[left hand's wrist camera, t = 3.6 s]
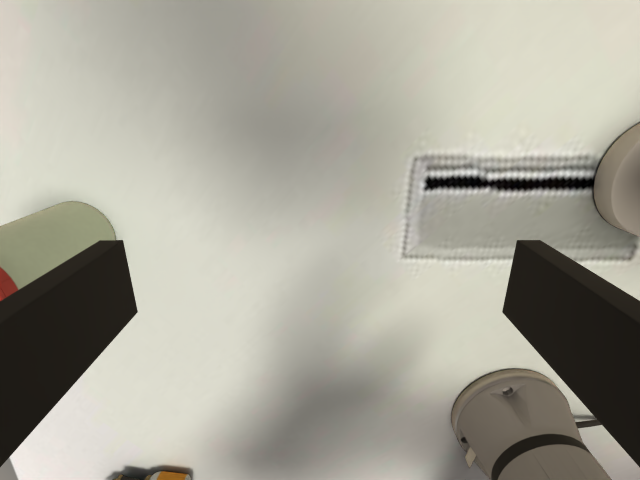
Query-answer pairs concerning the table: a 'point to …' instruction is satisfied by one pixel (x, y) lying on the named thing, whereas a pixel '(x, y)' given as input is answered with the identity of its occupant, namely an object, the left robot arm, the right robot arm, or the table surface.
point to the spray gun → (160, 476)
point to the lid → (6, 285)
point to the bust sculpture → (620, 183)
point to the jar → (49, 239)
